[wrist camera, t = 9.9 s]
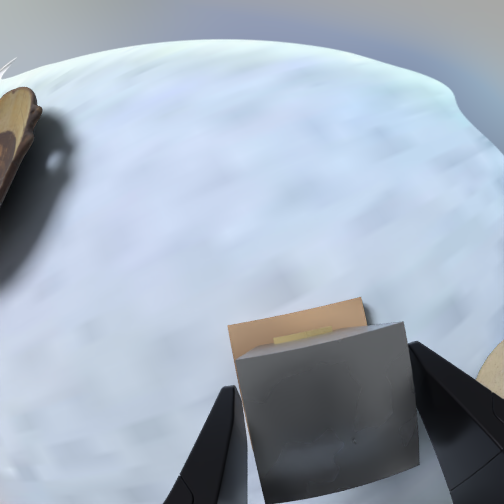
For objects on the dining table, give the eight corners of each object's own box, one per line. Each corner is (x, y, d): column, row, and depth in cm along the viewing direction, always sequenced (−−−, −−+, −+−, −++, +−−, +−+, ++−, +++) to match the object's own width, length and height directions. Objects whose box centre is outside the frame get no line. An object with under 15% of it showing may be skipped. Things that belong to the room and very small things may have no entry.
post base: (377, 416, 16) (400, 435, 12) (254, 444, 16) (247, 471, 12) (356, 299, 18) (376, 289, 14) (230, 326, 18) (216, 323, 14)
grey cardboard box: (356, 411, 15) (419, 471, 6) (273, 430, 15) (267, 511, 7) (341, 322, 17) (401, 311, 8) (256, 340, 17) (232, 349, 8)
